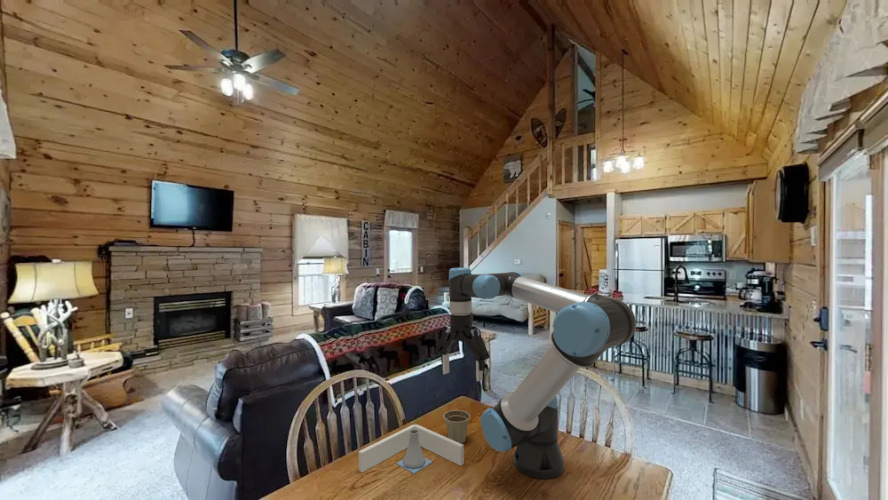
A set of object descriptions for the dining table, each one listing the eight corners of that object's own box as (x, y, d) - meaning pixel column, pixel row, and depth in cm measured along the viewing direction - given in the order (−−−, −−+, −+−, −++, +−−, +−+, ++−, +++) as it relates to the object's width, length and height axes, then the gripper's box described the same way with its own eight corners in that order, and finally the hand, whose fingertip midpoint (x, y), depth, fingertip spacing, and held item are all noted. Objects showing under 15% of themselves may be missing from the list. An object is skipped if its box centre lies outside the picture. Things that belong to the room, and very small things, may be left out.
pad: (432, 462, 120) (432, 461, 120) (414, 473, 114) (414, 473, 114) (414, 453, 125) (414, 452, 125) (396, 463, 119) (396, 463, 119)
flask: (426, 456, 123) (426, 425, 123) (424, 469, 116) (424, 436, 116) (404, 456, 123) (404, 425, 123) (401, 469, 116) (401, 436, 116)
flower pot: (460, 450, 127) (460, 424, 127) (438, 441, 133) (438, 416, 133) (475, 438, 135) (475, 414, 135) (453, 430, 140) (453, 407, 140)
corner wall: (463, 463, 119) (463, 444, 119) (408, 502, 101) (407, 480, 101) (415, 440, 134) (414, 423, 134) (358, 470, 116) (358, 451, 116)
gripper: (498, 314, 123) (500, 380, 123) (438, 309, 138) (439, 367, 138) (487, 317, 117) (488, 386, 117) (425, 312, 132) (426, 373, 132)
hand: (462, 376), depth 127 cm, fingers open, 13 cm apart
